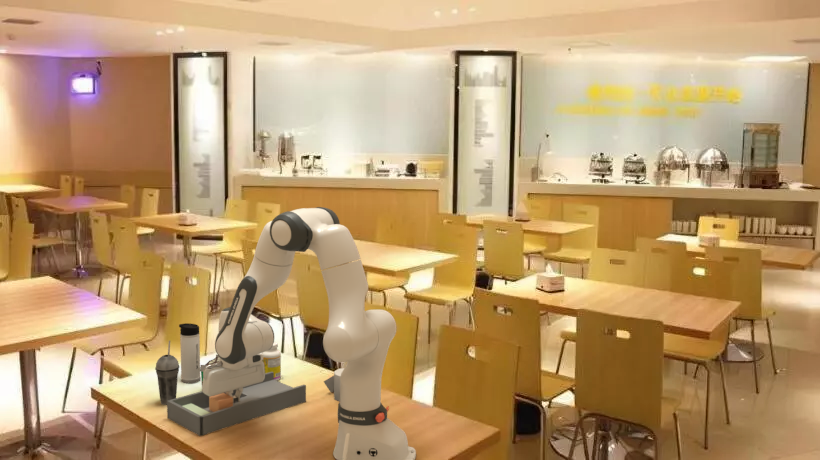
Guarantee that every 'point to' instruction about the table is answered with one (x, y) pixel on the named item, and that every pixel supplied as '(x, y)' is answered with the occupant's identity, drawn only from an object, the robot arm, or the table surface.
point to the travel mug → (190, 353)
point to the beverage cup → (167, 376)
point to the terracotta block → (220, 402)
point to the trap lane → (234, 406)
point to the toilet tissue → (334, 384)
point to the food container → (208, 364)
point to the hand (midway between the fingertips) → (234, 402)
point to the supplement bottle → (272, 361)
